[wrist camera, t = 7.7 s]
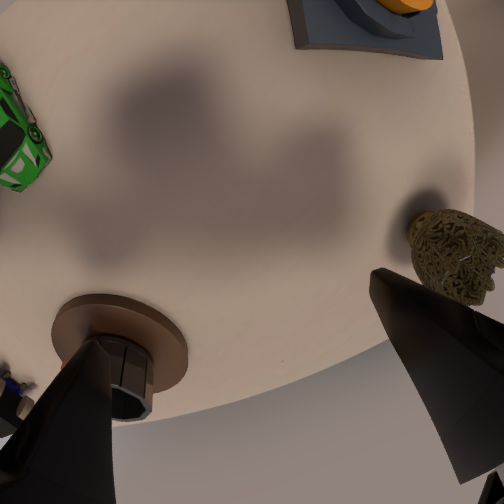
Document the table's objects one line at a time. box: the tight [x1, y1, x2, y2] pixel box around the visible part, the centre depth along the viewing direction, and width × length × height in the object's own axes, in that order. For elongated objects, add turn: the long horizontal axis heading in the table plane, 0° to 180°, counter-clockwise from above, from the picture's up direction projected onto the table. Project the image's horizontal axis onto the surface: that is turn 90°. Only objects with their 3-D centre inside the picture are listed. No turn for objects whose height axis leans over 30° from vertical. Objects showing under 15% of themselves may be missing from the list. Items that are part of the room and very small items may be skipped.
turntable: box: [51, 294, 188, 394], centre depth 22 cm, size 13×13×1 cm
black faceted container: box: [61, 336, 154, 422], centre depth 19 cm, size 8×7×4 cm
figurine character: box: [0, 372, 34, 438], centre depth 22 cm, size 7×8×15 cm
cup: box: [407, 209, 504, 307], centre depth 18 cm, size 8×7×8 cm
